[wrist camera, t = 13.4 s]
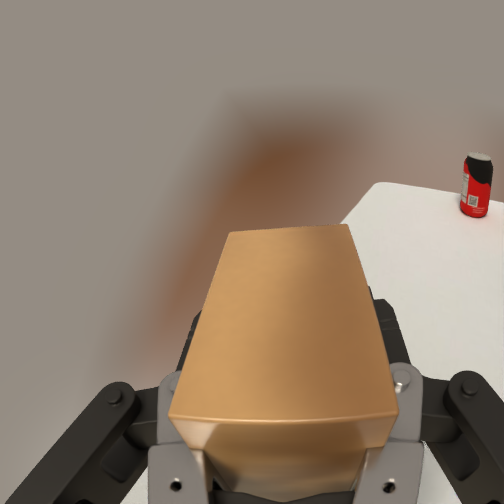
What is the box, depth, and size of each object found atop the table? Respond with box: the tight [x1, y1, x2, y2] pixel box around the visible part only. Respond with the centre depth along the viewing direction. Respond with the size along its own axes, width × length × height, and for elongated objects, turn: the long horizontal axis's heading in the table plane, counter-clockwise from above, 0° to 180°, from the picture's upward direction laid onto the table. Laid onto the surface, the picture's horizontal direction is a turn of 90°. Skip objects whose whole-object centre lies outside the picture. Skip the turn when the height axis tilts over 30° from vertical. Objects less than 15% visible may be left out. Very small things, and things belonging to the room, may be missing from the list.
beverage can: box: [460, 152, 493, 218], centre depth 50 cm, size 6×6×12 cm
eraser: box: [168, 224, 400, 502], centre depth 10 cm, size 4×7×9 cm, turn 174°
